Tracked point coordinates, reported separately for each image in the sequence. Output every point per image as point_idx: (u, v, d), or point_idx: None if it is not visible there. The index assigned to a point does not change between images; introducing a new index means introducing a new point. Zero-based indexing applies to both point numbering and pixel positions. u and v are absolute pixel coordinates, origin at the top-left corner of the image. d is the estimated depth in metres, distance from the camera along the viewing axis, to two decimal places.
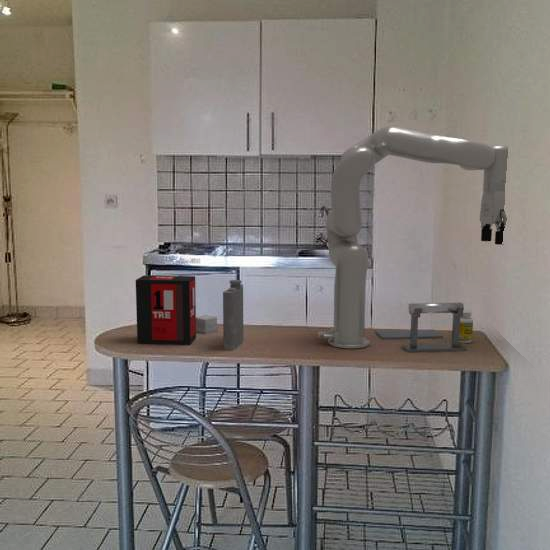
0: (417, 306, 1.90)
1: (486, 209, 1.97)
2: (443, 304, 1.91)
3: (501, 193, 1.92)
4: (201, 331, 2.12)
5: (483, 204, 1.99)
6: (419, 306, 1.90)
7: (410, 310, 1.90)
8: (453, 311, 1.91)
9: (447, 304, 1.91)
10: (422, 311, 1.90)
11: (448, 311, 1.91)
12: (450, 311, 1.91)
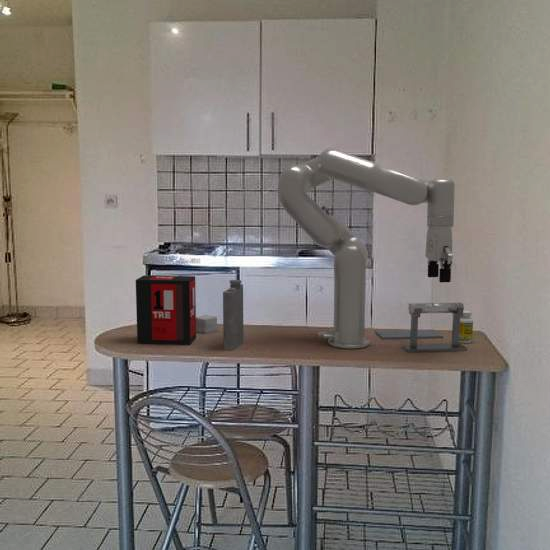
0: (417, 306, 1.90)
1: (430, 245, 1.88)
2: (443, 304, 1.91)
3: (444, 229, 1.83)
4: (201, 331, 2.12)
5: (428, 239, 1.90)
6: (419, 306, 1.90)
7: (410, 310, 1.90)
8: (453, 311, 1.91)
9: (447, 304, 1.91)
10: (422, 311, 1.90)
11: (448, 311, 1.91)
12: (450, 311, 1.91)
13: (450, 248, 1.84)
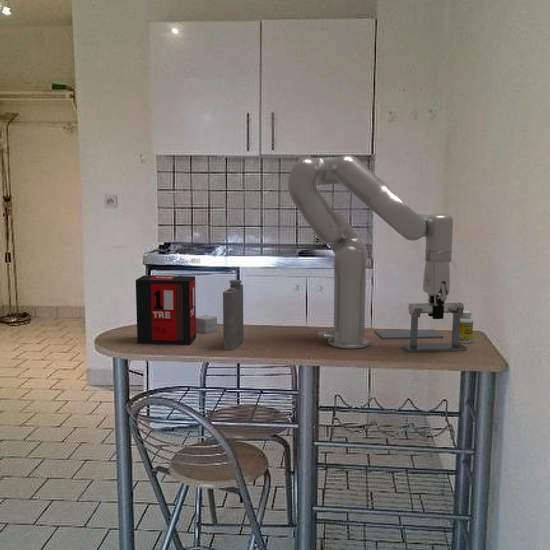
0: (417, 306, 1.90)
1: (428, 279, 1.90)
2: None
3: (442, 265, 1.85)
4: (201, 331, 2.12)
5: (426, 273, 1.92)
6: (419, 306, 1.90)
7: (410, 310, 1.90)
8: (453, 311, 1.91)
9: (447, 304, 1.91)
10: (422, 311, 1.90)
11: (448, 311, 1.91)
12: (450, 311, 1.91)
13: (447, 283, 1.86)
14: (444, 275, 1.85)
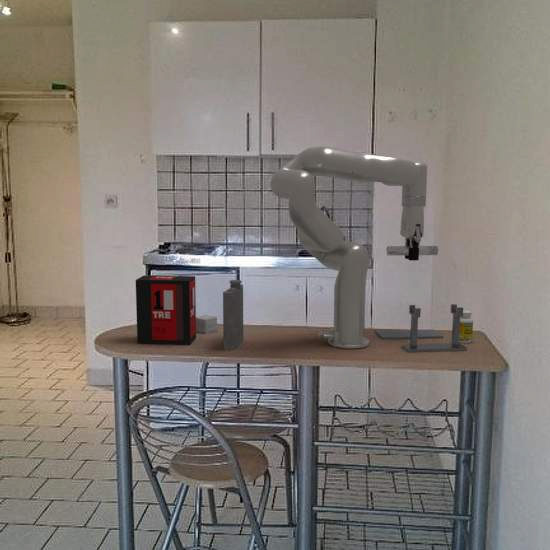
0: (394, 248, 2.03)
1: (404, 223, 2.04)
2: (419, 247, 2.05)
3: (417, 208, 1.99)
4: (201, 331, 2.12)
5: (402, 218, 2.06)
6: (396, 248, 2.04)
7: (388, 252, 2.04)
8: (428, 253, 2.05)
9: (422, 247, 2.05)
10: (399, 253, 2.04)
11: (423, 253, 2.05)
12: (425, 253, 2.05)
13: (422, 226, 1.99)
14: (418, 218, 1.99)
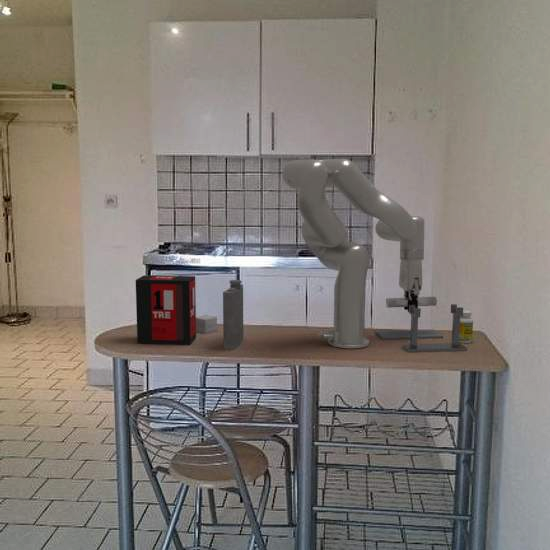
0: (393, 300, 2.06)
1: (403, 276, 2.06)
2: None
3: (415, 262, 2.02)
4: (201, 331, 2.12)
5: (401, 270, 2.09)
6: (395, 300, 2.07)
7: (387, 304, 2.07)
8: (427, 304, 2.08)
9: (421, 298, 2.08)
10: (398, 305, 2.07)
11: (422, 304, 2.08)
12: (424, 304, 2.08)
13: (420, 279, 2.02)
14: (417, 272, 2.02)
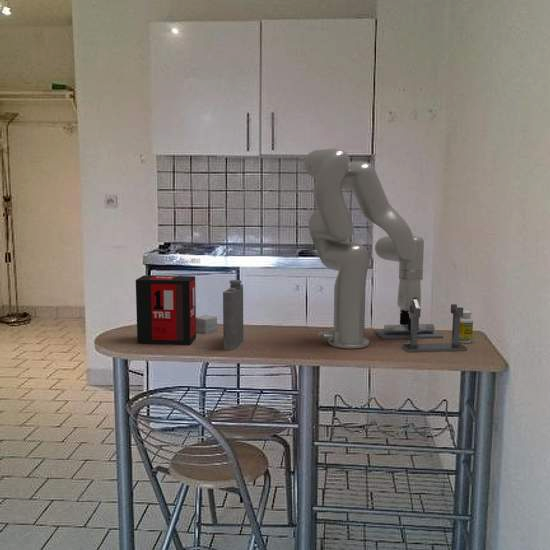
0: (391, 327, 2.07)
1: (401, 295, 2.07)
2: None
3: (414, 282, 2.03)
4: (201, 331, 2.12)
5: (399, 290, 2.09)
6: (393, 327, 2.08)
7: (385, 331, 2.08)
8: (425, 331, 2.09)
9: (419, 325, 2.09)
10: (396, 332, 2.08)
11: (420, 332, 2.09)
12: (422, 332, 2.09)
13: (419, 300, 2.03)
14: (415, 292, 2.03)
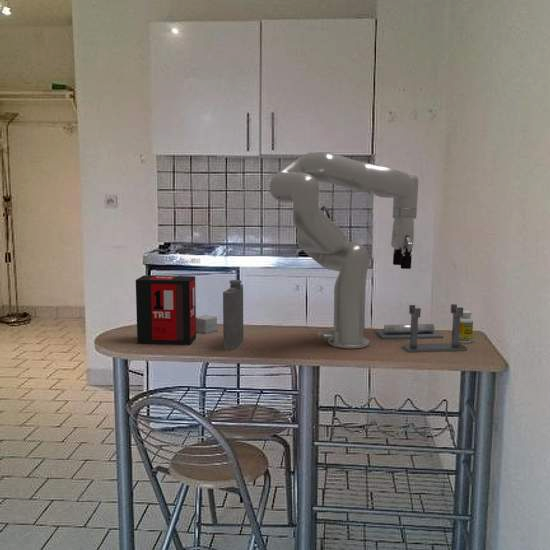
0: (391, 327, 2.07)
1: (395, 234, 2.06)
2: None
3: (407, 220, 2.01)
4: (201, 331, 2.12)
5: (393, 230, 2.08)
6: (393, 327, 2.08)
7: (385, 331, 2.08)
8: (425, 331, 2.09)
9: (419, 325, 2.09)
10: (396, 332, 2.08)
11: (420, 332, 2.09)
12: (422, 332, 2.09)
13: (411, 238, 2.02)
14: (408, 230, 2.01)
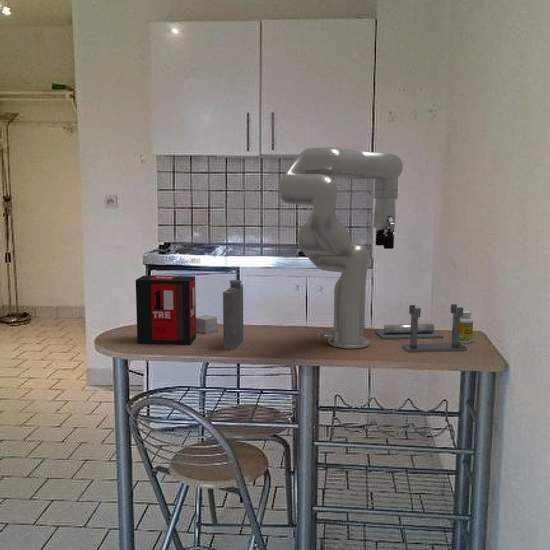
0: (391, 327, 2.08)
1: (377, 215, 2.10)
2: None
3: (388, 201, 2.05)
4: (201, 331, 2.12)
5: (375, 211, 2.12)
6: (393, 327, 2.08)
7: (385, 331, 2.08)
8: (424, 331, 2.09)
9: (419, 325, 2.09)
10: (396, 332, 2.08)
11: (420, 331, 2.09)
12: (422, 331, 2.09)
13: (393, 218, 2.05)
14: (390, 210, 2.05)
